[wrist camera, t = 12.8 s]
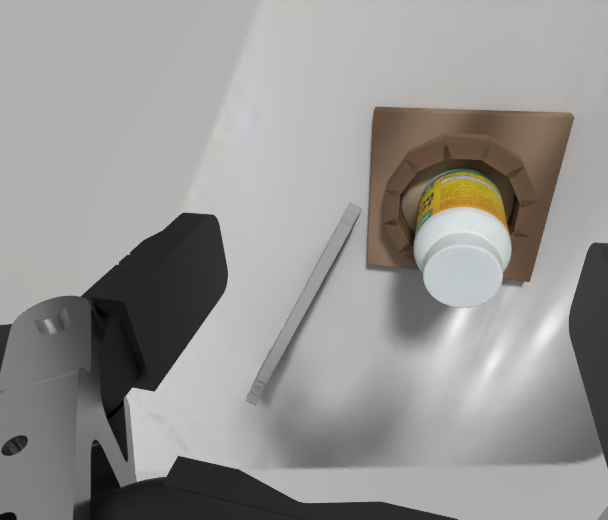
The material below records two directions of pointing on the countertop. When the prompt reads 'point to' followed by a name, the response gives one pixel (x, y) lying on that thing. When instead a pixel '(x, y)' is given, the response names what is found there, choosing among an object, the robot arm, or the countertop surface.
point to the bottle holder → (463, 154)
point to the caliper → (303, 302)
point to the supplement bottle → (462, 238)
